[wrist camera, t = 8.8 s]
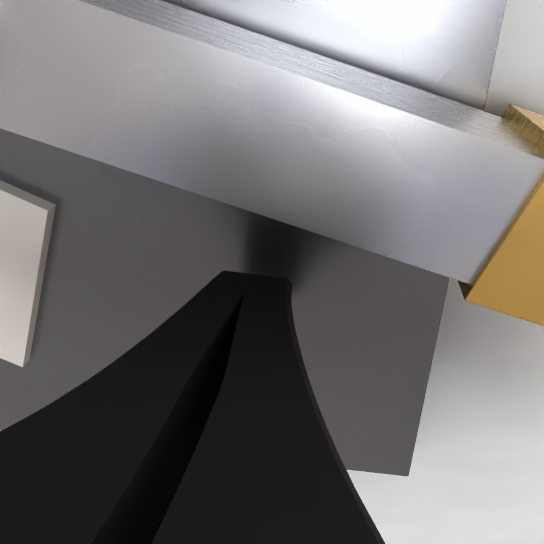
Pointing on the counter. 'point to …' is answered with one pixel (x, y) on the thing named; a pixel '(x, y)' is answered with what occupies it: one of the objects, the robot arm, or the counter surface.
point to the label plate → (21, 268)
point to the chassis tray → (255, 239)
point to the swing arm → (285, 137)
